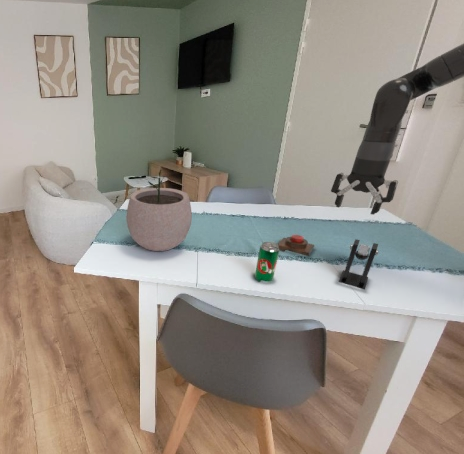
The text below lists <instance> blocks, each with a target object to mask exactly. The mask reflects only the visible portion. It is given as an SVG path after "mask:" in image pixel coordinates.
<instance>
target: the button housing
mask: <svg viewBox="0 0 464 454" xmlns="http://www.w3.org/2000/svg"><path fill="white" fill-rule="evenodd" d="M291 237H292V235H291V236H287V237H282V239H281V240H280V241H279V242H278V243H276V244H277V245H278V246H279V247H278V248H279V251H281V252H286V251H287V252H292V253H295V254H299V255H303V256H305V257H309V256H310V255H311V253H312V251H313V250H314V248H315V244H312V243H309V242H308V240H307V239H306V238H304V239H303V242H302V243H296V242H293V241H291Z"/></svg>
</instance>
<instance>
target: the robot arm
mask: <svg viewBox="0 0 464 454" xmlns="http://www.w3.org/2000/svg"><path fill="white" fill-rule="evenodd" d="M462 78H464V42H463V43H461V44H459V45H458V46H455V47H454V48H452V49H449V50H448V51H446V52H443V53H442V54H440V55H438V56H436V57H434V58H432V59H431V60H430V61H428V62H427V63H425V64H424V65H422V66H420V67H418V68H416V69H413V70H411V71H409V72H408V73H406V74H404V75H401V76H399V77H398V78H397V77H396V78H395V79H391V80H389V81H387V82H385V83H384V84H382V85H381V86H380V87H379V88H378V90H377V92H376V94H375V98H374V100H373V104H372V108H371V113H370V117H369V121H368V123H367V126H366V128H365V131H364V134H363V137H362V140H361V142H360V144H359V147H358V149H357V152H356V155H355V159H354V161H353V164H352V168H351V171H350V173H349V174H345V173H344V172H340V173H338V174H336V176H335V179H334V181H333V184H332V187H331V189H330V192H331V193H333V194H336V198H335V201H334V205H335V207H336V208H340V207H341V206H342V203H343V201H344V198H345V193H347V192H348V191H350V190H353V191H354V192H361V193H362V192H363V193H366V194H368V193H370V194H371V197H373V198H374V200H375V201H374V203H373V206H372V208H371V211H370V215H373V216H374V215H375V214H377V213H379V212H380V210H381V207H382V204H383V203H390V202H392V201H393V200H394V197H395V194H396V190H397V187H398V183H399V181H398V180H396V179H394V180H386V179H385V176H386V174H387V170H388V168H389V165H390V162H391V159H392V158H393V155H394V151H395V147H396V142H397V139H398V137H399V134H400V131H401V128H402V124H403V119H404V116H405V114H406V112H407V110H408V107H409V105H410V102H411V101H413V100H415V99H417V98H419V97H422V96H423V95H425V94H427V93H429V92H431V91H433V90H435V89H438V88H441V87H444V86H446V85H449V84H451V83H453V82H455V81H458V80H460V79H462ZM345 180H347V183H348V185H347V186H345V187H344V188H342V189H340V186H341V184H342V182H344V181H345ZM383 185H384V186H385V188H386V189H387V193H386V196H383V194H382V191H381V189H380V188H379V187H382V186H383Z"/></svg>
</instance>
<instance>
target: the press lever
mask: <svg viewBox="0 0 464 454" xmlns="http://www.w3.org/2000/svg"><path fill="white" fill-rule="evenodd" d="M371 248H372V246H371V245H367V244H362V243H359V246H358V249H357V250H356V253H355V256H354V257H355V258H356V259H358V260H359V261H365V260H368V257H369V254H370V251H371Z"/></svg>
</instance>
